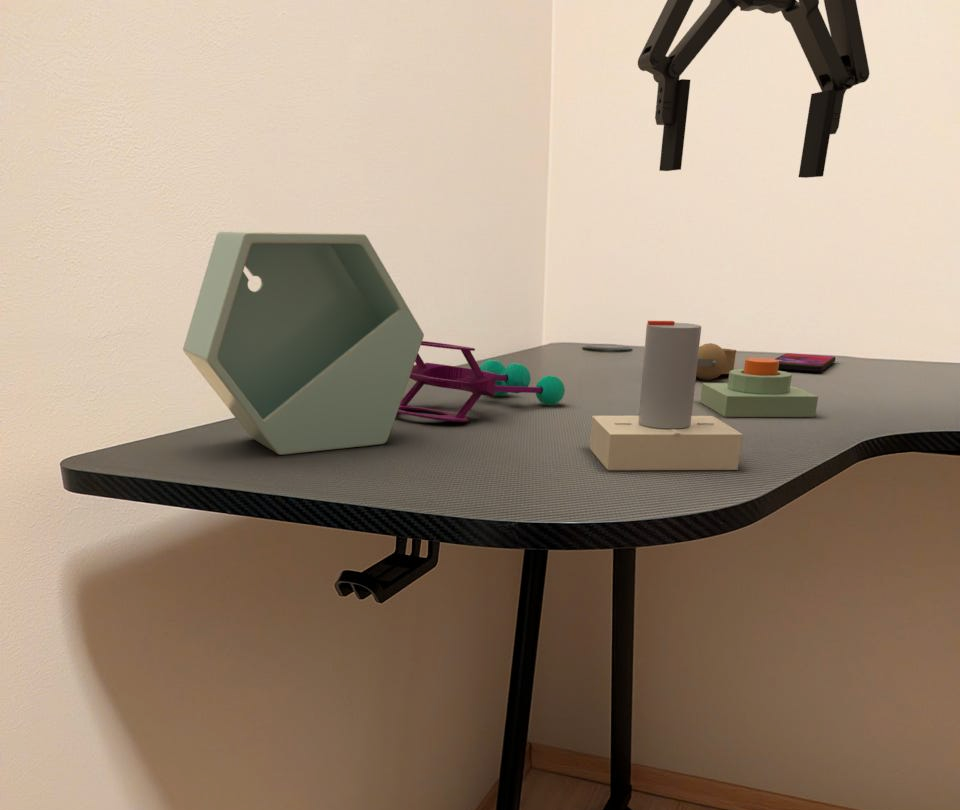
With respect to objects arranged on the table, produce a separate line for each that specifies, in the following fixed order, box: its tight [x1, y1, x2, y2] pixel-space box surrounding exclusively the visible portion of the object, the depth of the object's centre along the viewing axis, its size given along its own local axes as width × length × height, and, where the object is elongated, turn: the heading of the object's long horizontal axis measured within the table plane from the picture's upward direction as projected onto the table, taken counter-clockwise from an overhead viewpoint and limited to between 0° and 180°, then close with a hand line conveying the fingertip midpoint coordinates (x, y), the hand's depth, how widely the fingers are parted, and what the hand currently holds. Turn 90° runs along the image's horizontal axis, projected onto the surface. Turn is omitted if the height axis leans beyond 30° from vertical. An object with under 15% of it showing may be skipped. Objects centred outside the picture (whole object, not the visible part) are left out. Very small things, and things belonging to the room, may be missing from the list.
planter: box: [182, 231, 425, 456], centre depth 79 cm, size 17×8×21 cm
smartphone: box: [775, 353, 837, 372], centre depth 136 cm, size 8×1×15 cm
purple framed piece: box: [397, 340, 566, 423], centre depth 98 cm, size 12×20×7 cm, turn 135°
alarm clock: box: [696, 342, 738, 381], centre depth 124 cm, size 11×5×15 cm
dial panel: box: [589, 415, 743, 471], centre depth 78 cm, size 11×9×3 cm
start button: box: [743, 357, 779, 376], centre depth 100 cm, size 4×4×2 cm
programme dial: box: [638, 320, 702, 429], centre depth 76 cm, size 4×4×8 cm
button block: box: [699, 368, 819, 418], centre depth 101 cm, size 10×9×4 cm
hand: (741, 174), depth 79 cm, fingers open, 13 cm apart
